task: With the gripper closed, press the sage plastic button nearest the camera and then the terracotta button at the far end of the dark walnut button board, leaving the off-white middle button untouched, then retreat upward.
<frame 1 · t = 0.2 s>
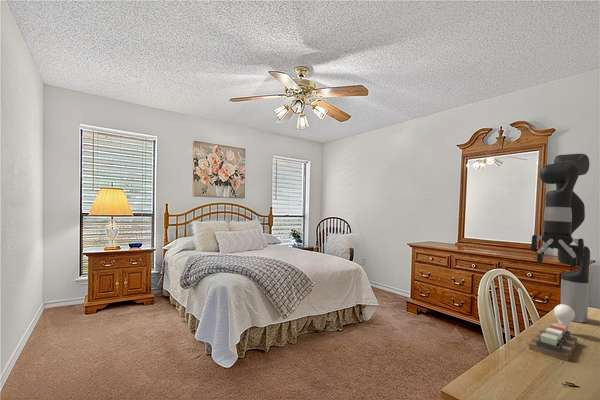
hand: (556, 266, 107), 28 cm above the table, tool pointing down, fingers open, 8 cm apart
lightbulb: (563, 333, 121), on the table
sage button: (549, 339, 102), point 4 cm above the table, slide at 0.0 cm
terracotta button: (558, 328, 113), point 5 cm above the table, slide at 0.0 cm
button board: (553, 346, 107), on the table
offwhite button: (554, 333, 107), point 4 cm above the table, slide at 0.0 cm
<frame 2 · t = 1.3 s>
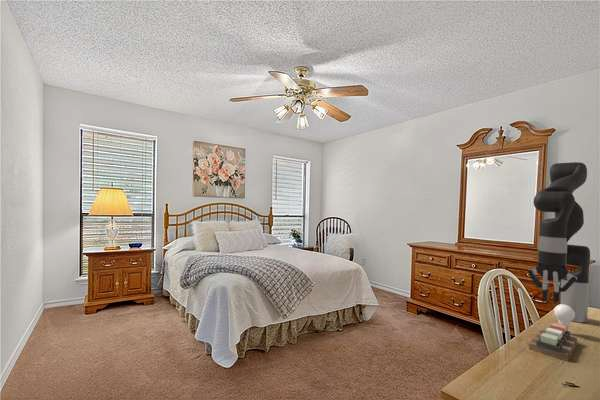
hand: (550, 301, 102), 17 cm above the table, tool pointing down, fingers closed
nothing on the table moved.
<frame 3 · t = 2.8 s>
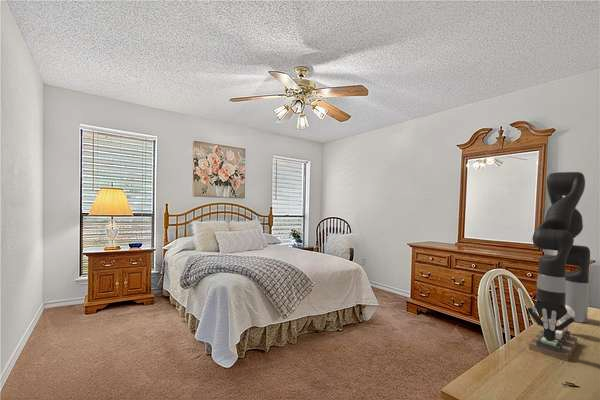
hand: (549, 340, 102), 4 cm above the table, tool pointing down, fingers closed
sage button: (549, 343, 102), point 3 cm above the table, slide at 1.3 cm, touching gripper
everything else where it was.
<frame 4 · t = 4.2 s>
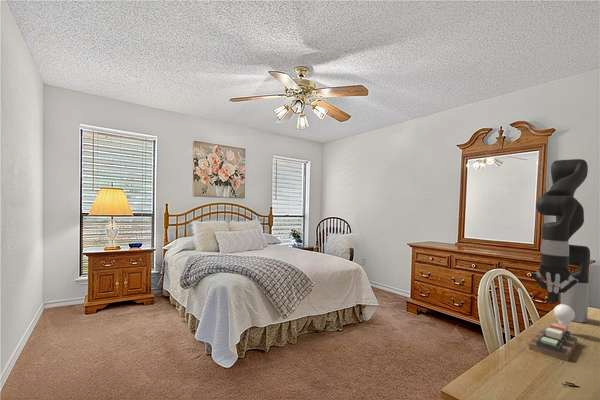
hand: (553, 302, 106), 16 cm above the table, tool pointing down, fingers closed
sage button: (549, 343, 102), point 3 cm above the table, slide at 1.3 cm
everything else where it was.
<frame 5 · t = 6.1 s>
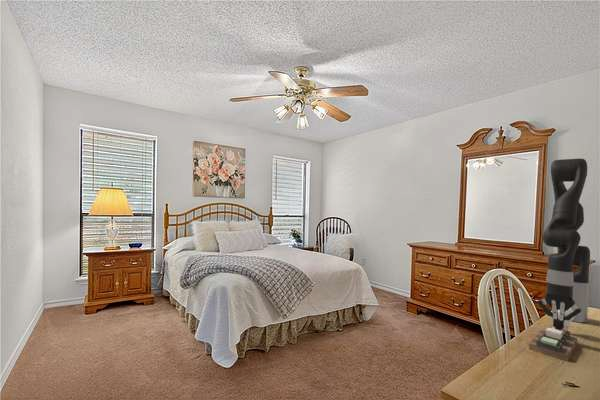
hand: (558, 329, 113), 4 cm above the table, tool pointing down, fingers closed
terracotta button: (558, 331, 113), point 3 cm above the table, slide at 1.4 cm, touching gripper
everything else where it was.
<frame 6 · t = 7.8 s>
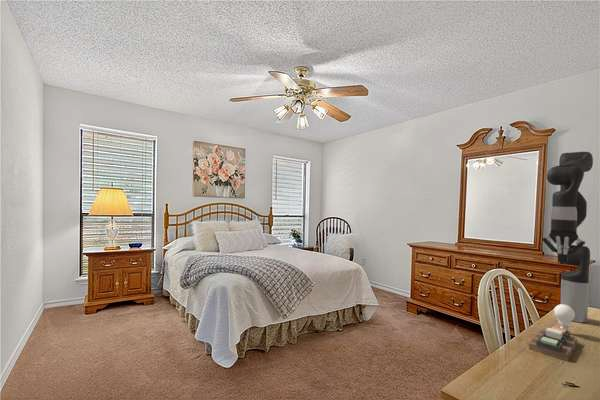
hand: (562, 263, 116), 28 cm above the table, tool pointing down, fingers closed
terracotta button: (558, 331, 113), point 3 cm above the table, slide at 1.4 cm
everything else where it was.
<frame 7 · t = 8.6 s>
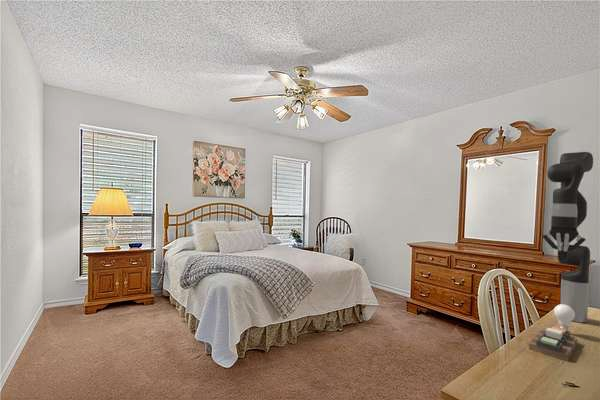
hand: (562, 260, 117), 29 cm above the table, tool pointing down, fingers closed
nothing on the table moved.
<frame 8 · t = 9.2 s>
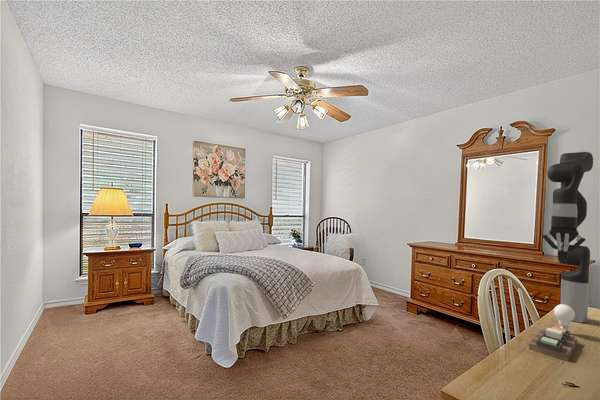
hand: (562, 260, 117), 29 cm above the table, tool pointing down, fingers closed
nothing on the table moved.
at the end: sage button slide at 1.3 cm; terracotta button slide at 1.4 cm; offwhite button slide at 0.0 cm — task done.
